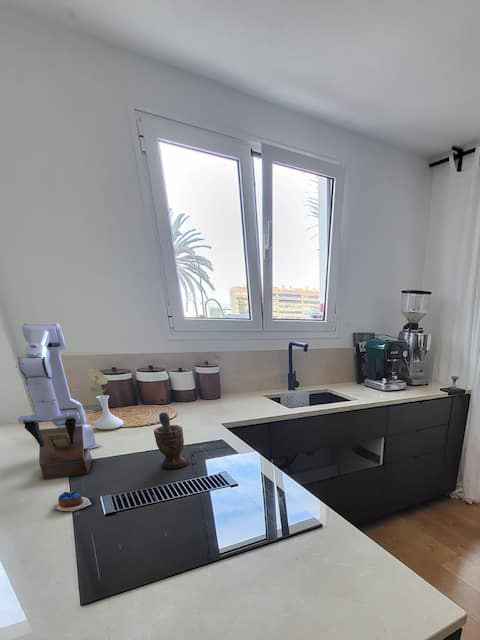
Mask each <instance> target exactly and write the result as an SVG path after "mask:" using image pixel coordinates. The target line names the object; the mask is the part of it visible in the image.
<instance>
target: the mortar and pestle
mask: <svg viewBox="0 0 480 640" xmlns="http://www.w3.org/2000/svg"><path fill="white" fill-rule="evenodd" d="M158 420H159V422H160V424H161V426H158V427H156V428H154V429H153V434H154V435H153V436H154V439H155V442H156V443H155V444H156V446H157V448H158V450H159V453H160V454H163V455H164V456H165V458H164V460H163V462H162V467H163V468H165V469H173V470H175V469H181V468H183V467H185V466H186V465H187V461H186V459H185V458H183V457H182V456H181V454H182V452H183V451H184V445H185V439H184V431H183V426H182V425H178V424H171V419H170V416H169V414H168V412H165V411H164V412H161V413H159V416H158Z"/></svg>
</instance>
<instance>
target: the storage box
mask: <svg viewBox="0 0 480 640" xmlns="http://www.w3.org/2000/svg"><path fill="white" fill-rule="evenodd" d="M90 450H91V449H89V448H85V449H84V460H82V461H73V462H64V463H55V464H47V465H39V467H40V471H41V474H42V477H43V479H44V480H49V479H50V480H51V479H57V478H65V477H73V476H83V475H88V474H89V471H90V468H91V465H92V463H93V458H92V455H91V451H90Z"/></svg>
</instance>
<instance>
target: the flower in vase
mask: <svg viewBox="0 0 480 640" xmlns="http://www.w3.org/2000/svg"><path fill="white" fill-rule="evenodd" d="M86 373H87V376H88V377H89V378H90V379H91V380H92V381H93V382H94V387H91V388H90V392H94V393H96V394H97V393H98V394H99V395H97V396H95V398H96V400H98V402H99V403H100V406H101V410H102V414H101V416H99V418H98V419H96V420H95V422H94V423H93V427H94V428H95V429H99V430H114V429H118V428H121V427H122V426H124V424H125V422H124V420H122V419H121V418H119V417H117V416H115V415H113V414H112V413H111V412H110V409H109V405H108V403H109V401H108V400H109V398H110V395H108V394H107V395H105V394H103V395H102V393H104V392H105V390H107V388H105V389H103V390H102V391H99V390H98V389H97V384H100V385H106V384H108V382H109V381H108V378H107V376H106V375H105V374H104V373H103V372H101V371H98V369H93V368H90V369H88V370H87V371H86Z"/></svg>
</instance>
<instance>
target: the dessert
mask: <svg viewBox="0 0 480 640" xmlns="http://www.w3.org/2000/svg"><path fill="white" fill-rule="evenodd" d="M57 502H58V504H57V506H56V510H58V511H61V512H75V511H78V510H81V509H84V508H86V507H88V506H91V505H92V502H91V501H90V499H89V498H88V497H87V496H86V497H85V496H82V495H81V494H80V492H78V491H77V490H75V491H63V493H61V494H60V495H59V496H58V498H57Z"/></svg>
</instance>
